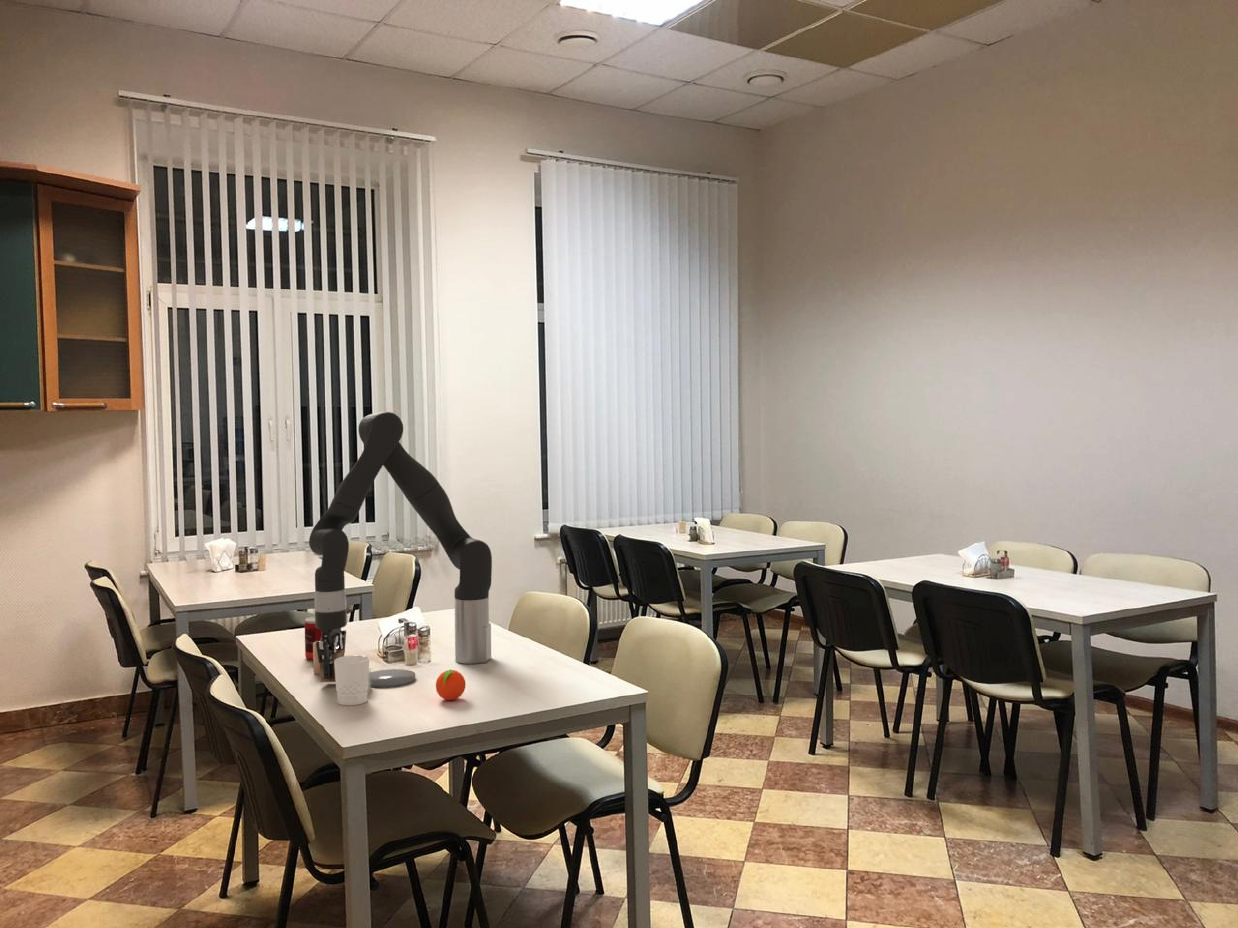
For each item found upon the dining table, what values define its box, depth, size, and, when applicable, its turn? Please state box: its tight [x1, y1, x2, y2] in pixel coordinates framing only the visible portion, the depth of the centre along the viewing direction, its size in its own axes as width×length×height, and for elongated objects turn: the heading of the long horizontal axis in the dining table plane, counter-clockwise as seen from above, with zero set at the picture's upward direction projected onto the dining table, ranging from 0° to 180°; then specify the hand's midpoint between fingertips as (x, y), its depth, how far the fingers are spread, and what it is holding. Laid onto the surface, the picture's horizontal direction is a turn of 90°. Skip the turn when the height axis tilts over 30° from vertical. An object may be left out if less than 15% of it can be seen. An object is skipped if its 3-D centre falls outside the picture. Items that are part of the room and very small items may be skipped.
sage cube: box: [368, 667, 372, 694], centre depth 235 cm, size 5×5×5 cm
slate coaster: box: [371, 668, 416, 688], centre depth 245 cm, size 13×13×1 cm
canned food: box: [304, 615, 322, 662], centre depth 269 cm, size 8×8×11 cm
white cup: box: [334, 654, 370, 706], centre depth 226 cm, size 8×8×10 cm
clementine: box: [435, 669, 466, 701], centre depth 227 cm, size 8×7×7 cm
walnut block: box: [319, 649, 345, 683], centre depth 241 cm, size 4×4×7 cm
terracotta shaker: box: [312, 641, 320, 676], centre depth 252 cm, size 4×4×8 cm
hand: (332, 675), depth 241 cm, fingers closed on walnut block, 4 cm apart
